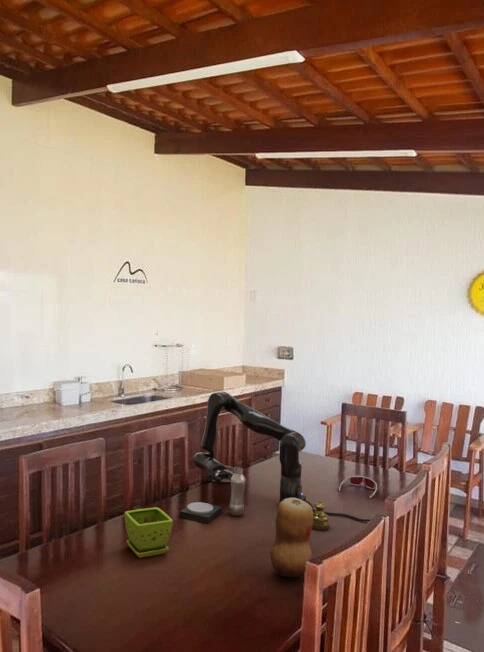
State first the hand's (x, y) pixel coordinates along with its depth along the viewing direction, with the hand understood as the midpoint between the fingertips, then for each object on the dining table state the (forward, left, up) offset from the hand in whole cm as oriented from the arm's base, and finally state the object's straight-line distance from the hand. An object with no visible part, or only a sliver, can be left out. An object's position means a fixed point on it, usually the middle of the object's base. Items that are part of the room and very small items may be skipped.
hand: (229, 480), depth 238 cm
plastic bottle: (-7, +7, -12) cm, 15 cm away
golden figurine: (-41, +1, -12) cm, 42 cm away
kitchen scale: (+6, +15, -12) cm, 20 cm away
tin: (+16, -30, -12) cm, 37 cm away
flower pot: (+8, +56, -12) cm, 57 cm away
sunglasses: (-48, -56, -12) cm, 75 cm away
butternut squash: (-42, +47, -12) cm, 64 cm away
